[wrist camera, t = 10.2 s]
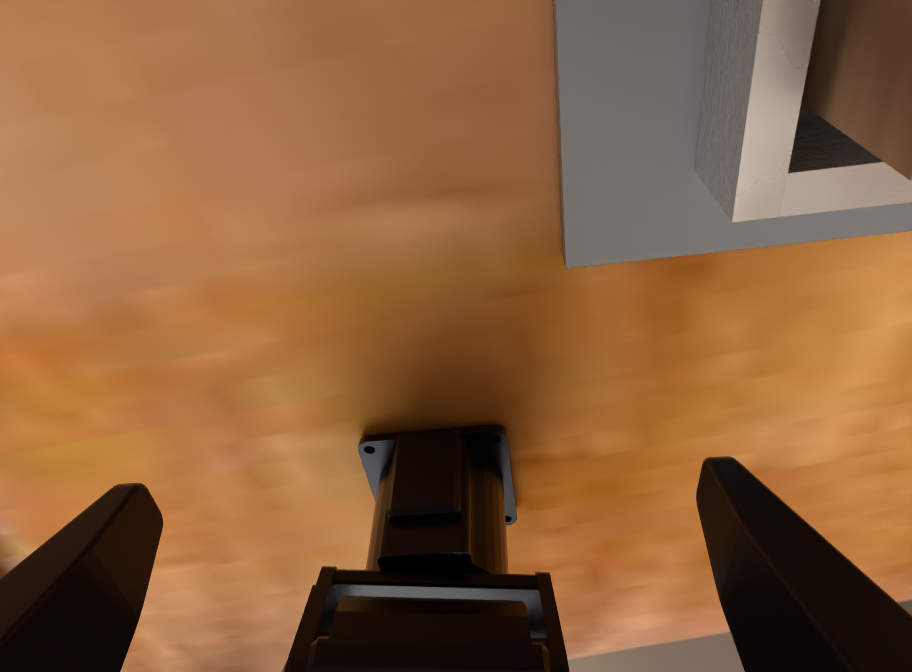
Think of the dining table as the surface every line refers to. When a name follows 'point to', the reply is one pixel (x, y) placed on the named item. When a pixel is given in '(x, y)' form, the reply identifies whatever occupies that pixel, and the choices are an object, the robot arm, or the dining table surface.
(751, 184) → the white hollow frame
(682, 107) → the slate board
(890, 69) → the wooden block
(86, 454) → the dining table surface
